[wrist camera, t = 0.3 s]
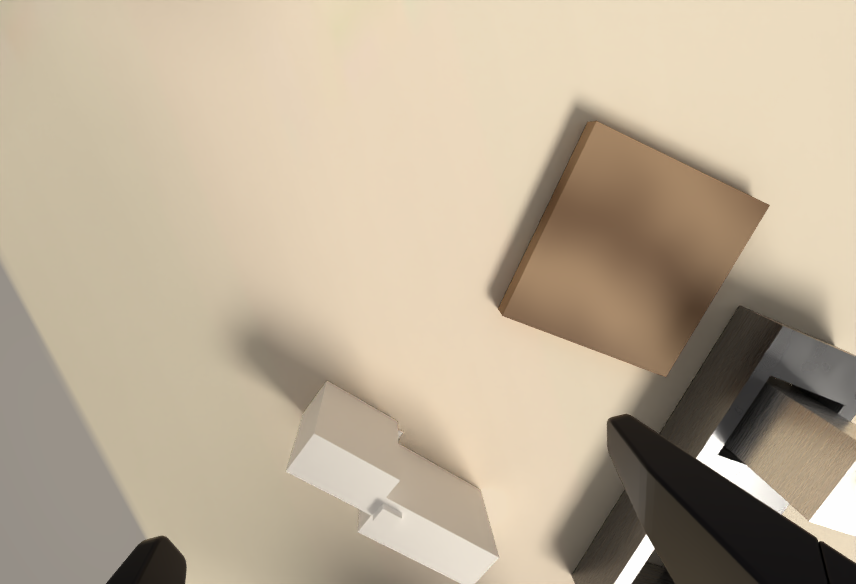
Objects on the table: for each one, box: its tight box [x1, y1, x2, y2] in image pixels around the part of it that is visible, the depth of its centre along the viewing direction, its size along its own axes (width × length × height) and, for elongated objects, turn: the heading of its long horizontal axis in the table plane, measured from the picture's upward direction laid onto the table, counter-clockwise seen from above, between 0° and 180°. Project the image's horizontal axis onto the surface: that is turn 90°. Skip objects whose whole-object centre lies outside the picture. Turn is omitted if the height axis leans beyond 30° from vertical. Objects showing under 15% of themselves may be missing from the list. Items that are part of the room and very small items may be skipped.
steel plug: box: [724, 376, 856, 537], centre depth 24 cm, size 4×4×8 cm
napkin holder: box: [286, 381, 499, 584], centre depth 25 cm, size 15×11×6 cm
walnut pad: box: [498, 121, 770, 377], centre depth 24 cm, size 10×10×1 cm
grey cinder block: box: [572, 306, 856, 584], centre depth 28 cm, size 20×7×3 cm, turn 157°
